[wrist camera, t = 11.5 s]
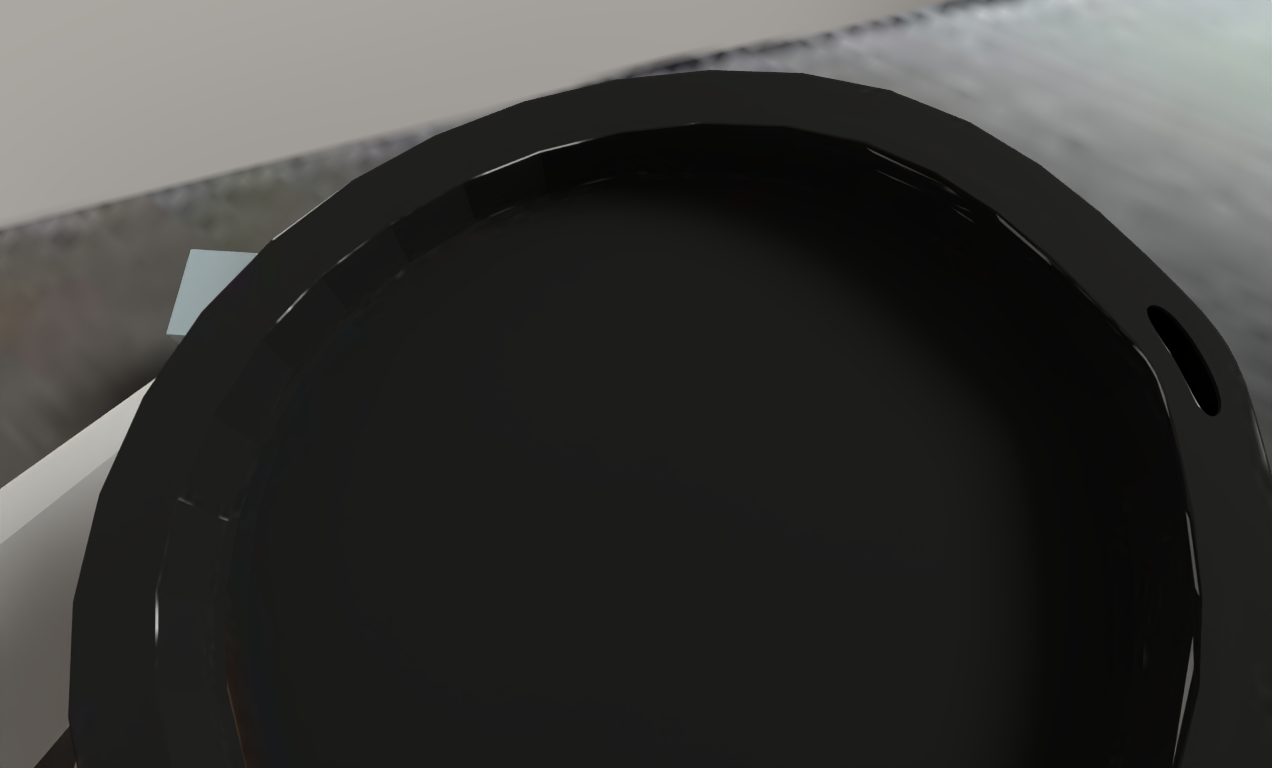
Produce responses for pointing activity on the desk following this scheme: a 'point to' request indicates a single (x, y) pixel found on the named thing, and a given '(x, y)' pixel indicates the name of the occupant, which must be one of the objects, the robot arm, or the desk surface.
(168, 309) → the desk surface
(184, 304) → the guide channel
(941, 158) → the coffee cup
